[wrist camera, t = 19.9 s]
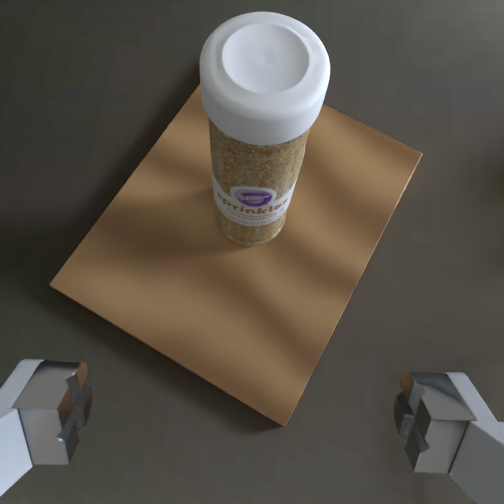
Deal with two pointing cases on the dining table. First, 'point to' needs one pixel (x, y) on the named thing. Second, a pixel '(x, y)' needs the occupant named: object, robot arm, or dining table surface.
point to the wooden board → (240, 257)
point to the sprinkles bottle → (259, 117)
